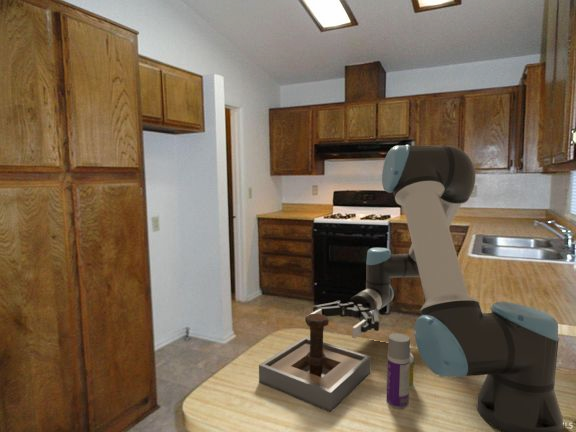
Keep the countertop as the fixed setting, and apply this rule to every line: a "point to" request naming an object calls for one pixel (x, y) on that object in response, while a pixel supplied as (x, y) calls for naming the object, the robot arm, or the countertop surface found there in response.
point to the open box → (312, 391)
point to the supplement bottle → (411, 369)
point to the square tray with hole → (334, 362)
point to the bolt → (316, 342)
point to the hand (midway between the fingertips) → (330, 326)
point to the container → (398, 370)
